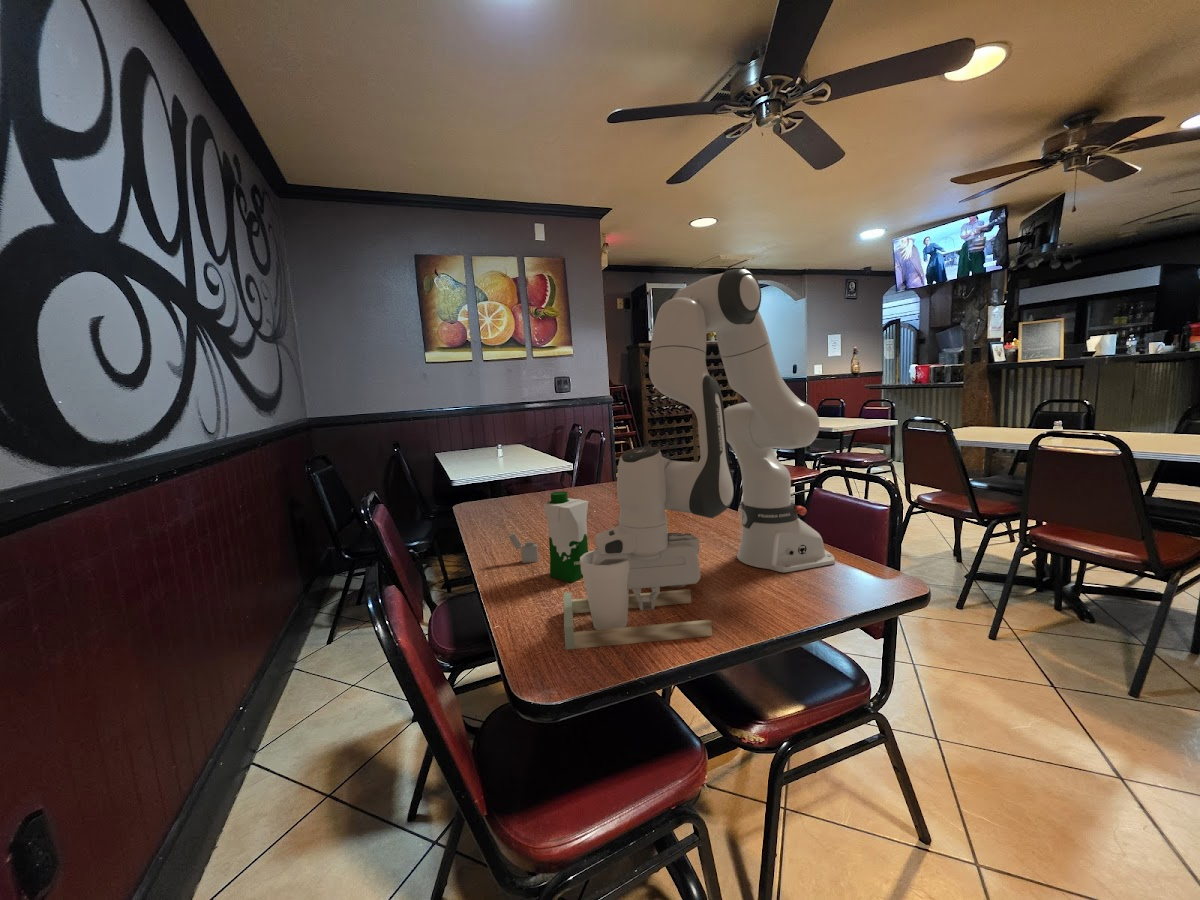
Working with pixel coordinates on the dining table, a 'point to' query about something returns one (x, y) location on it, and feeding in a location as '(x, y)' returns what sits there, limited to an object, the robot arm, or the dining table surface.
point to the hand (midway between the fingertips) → (646, 608)
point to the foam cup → (606, 592)
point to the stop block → (568, 621)
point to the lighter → (525, 549)
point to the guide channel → (642, 632)
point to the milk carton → (566, 535)
